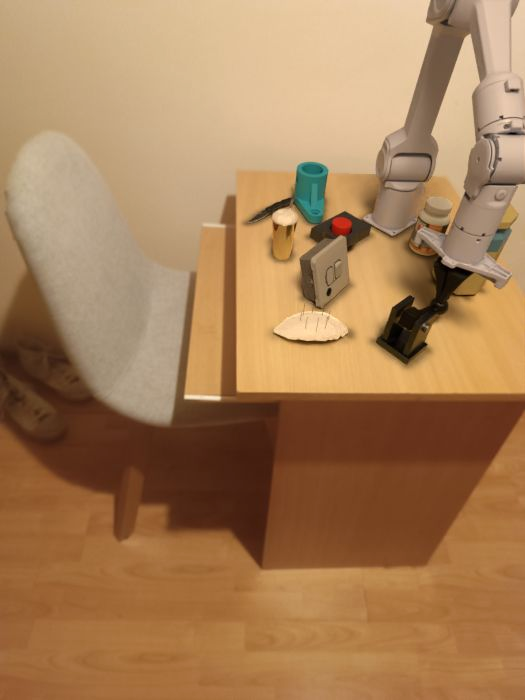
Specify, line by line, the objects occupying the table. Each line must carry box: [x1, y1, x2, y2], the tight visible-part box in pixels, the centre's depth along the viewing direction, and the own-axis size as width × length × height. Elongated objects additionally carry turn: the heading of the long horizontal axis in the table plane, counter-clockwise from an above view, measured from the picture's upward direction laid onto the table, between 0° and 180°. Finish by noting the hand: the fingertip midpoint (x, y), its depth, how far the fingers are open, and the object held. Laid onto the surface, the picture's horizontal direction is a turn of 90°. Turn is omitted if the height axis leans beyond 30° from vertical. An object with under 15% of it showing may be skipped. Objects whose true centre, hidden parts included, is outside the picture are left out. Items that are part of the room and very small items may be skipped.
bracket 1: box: [293, 161, 329, 224], centre depth 96 cm, size 6×12×7 cm, turn 6°
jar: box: [431, 203, 520, 295], centre depth 79 cm, size 9×9×15 cm
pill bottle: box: [409, 195, 454, 257], centre depth 87 cm, size 6×6×10 cm
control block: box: [309, 210, 372, 249], centre depth 90 cm, size 11×9×4 cm
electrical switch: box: [298, 235, 350, 309], centre depth 78 cm, size 9×5×9 cm, turn 141°
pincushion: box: [273, 298, 350, 342], centre depth 72 cm, size 12×6×6 cm, turn 93°
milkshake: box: [271, 199, 299, 261], centre depth 84 cm, size 4×5×10 cm
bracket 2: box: [375, 294, 438, 365], centre depth 70 cm, size 5×6×8 cm
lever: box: [398, 297, 450, 332], centre depth 72 cm, size 12×3×3 cm, turn 132°
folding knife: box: [247, 197, 295, 224], centre depth 97 cm, size 13×1×2 cm
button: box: [331, 217, 352, 236], centre depth 87 cm, size 4×4×2 cm
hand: (441, 299), depth 74 cm, fingers closed, pressing on lever
